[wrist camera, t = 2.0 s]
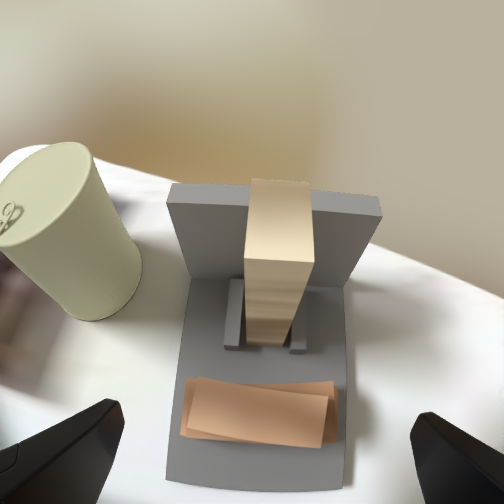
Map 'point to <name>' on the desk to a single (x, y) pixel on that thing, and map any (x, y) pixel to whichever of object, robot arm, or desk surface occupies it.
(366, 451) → the desk surface
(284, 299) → the birch strip
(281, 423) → the offcut stack
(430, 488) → the robot arm
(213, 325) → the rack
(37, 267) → the can
